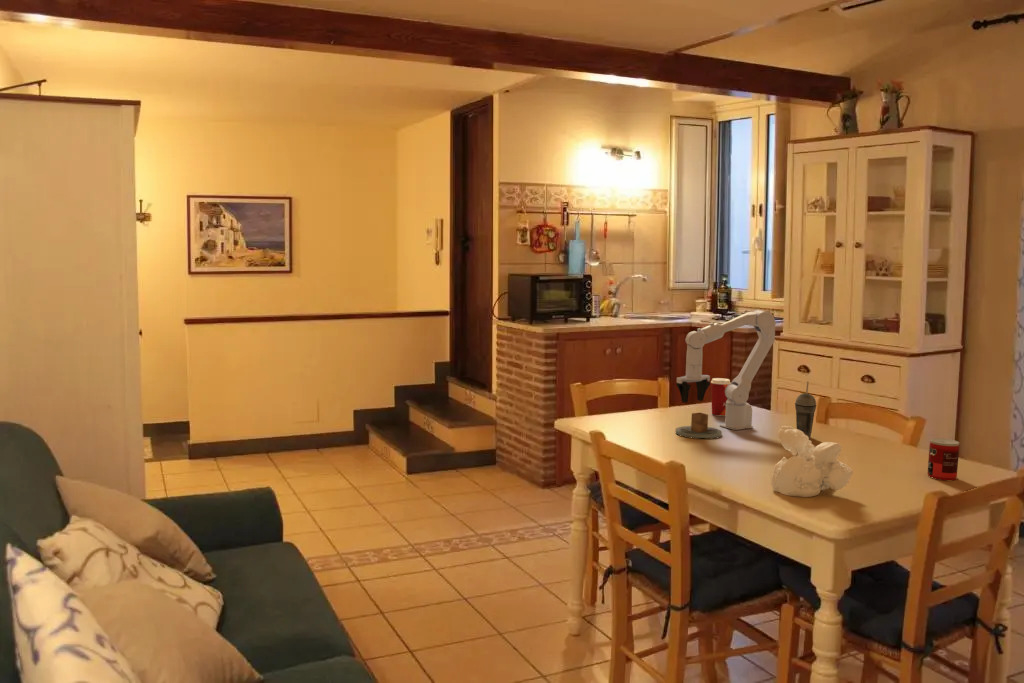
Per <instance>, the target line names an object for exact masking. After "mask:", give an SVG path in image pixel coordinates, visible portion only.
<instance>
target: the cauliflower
mask: <svg viewBox="0 0 1024 683" xmlns="http://www.w3.org/2000/svg"><path fill="white" fill-rule="evenodd" d="M777 434H778V440H779V442H780V444H781V445H782V447H783V448H784V450H786V451H789V452H790V453H791V455H792V456H791V457H789V458H788V459H787V457H786V456H783V457H782V458H781V460H779V461H778V462H776V463H775V465H774V467H773V471H772V476H771V480H770V481H771V483H770V484H771V487H772V490H773V491H774V492H777V493H779V494H780V495H784V496H787V497H788V496H789V497H800V498H812V497H815V496H818V495H819V494H820V493H821V491H825V490H829V489H832V490H834V491H838V490H841V489H843V488H844V487H846V486H847V484H849V482H850V479H851V477H852V475H853V472H854V471H853V469H852V468H851V467H850V466H849V465H848V464H846V463H844V462H841V461H840V460H838V456H840V453H841V452H842V444H840V443H839V442H838V443H837V442H831V441H823V442H822V443H821V442H820V443H819V444H818V445H814V444H813V443H812V440H810V438H809V437H808V436H806V435H805V434H804V432H802V431H801V430H798V429H797V428H794V427H793V426H791V425H788V424H787V425H786V424H785V425H782V426H780V428H779V430H778V432H777Z"/></svg>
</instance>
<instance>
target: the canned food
mask: <svg viewBox="0 0 1024 683" xmlns="http://www.w3.org/2000/svg"><path fill="white" fill-rule="evenodd" d="M928 448H929V449H928V462H927V475H928V477H929V476H930V477H929V478H931V477H933V478H936V479H935V480H938V479H941V480H940V481H945V480H952V481H955V480H956V479H957V478H958V468H959V466H958V465H959V454H960V442H959V441H958V440H955V439H954V440H953V439H950V438H943V437H942V438H941V437H933V438H930V439H929V447H928ZM933 478H932V479H933Z"/></svg>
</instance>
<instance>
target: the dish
mask: <svg viewBox="0 0 1024 683" xmlns="http://www.w3.org/2000/svg"><path fill="white" fill-rule="evenodd" d="M675 432H676V433H677V434H678V435H677V434H676V433H675V434H676V435H677V436H679V435H681V436H680V437H682V436H686V437H685V438H687V437H692V438H691V439H694V438H715V439H718V438H717V437H719V438H721V437H722V435H723V431H722V430H721V429H718V428H716V427H710V426H708V429H707V431H706V432H696V431H692V430H691V425H683V426H682V425H681V426H679V427H676V428H675ZM720 436H721V437H720Z"/></svg>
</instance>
